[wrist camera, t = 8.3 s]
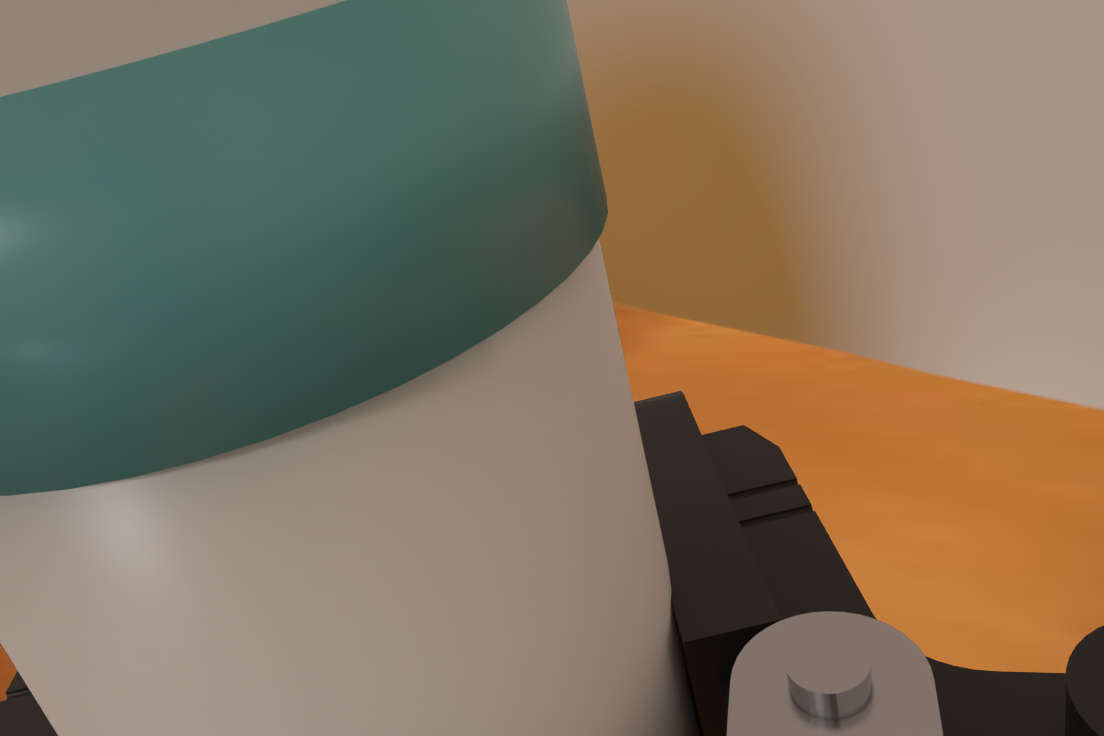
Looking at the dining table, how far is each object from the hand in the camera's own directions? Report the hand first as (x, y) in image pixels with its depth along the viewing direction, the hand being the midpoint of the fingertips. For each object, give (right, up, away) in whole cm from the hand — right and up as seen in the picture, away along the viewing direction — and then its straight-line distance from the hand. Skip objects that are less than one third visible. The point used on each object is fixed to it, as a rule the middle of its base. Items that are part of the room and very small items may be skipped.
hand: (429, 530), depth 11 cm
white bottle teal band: (+2, -8, +1) cm, 8 cm away
